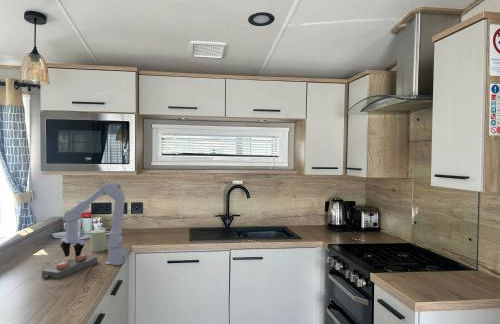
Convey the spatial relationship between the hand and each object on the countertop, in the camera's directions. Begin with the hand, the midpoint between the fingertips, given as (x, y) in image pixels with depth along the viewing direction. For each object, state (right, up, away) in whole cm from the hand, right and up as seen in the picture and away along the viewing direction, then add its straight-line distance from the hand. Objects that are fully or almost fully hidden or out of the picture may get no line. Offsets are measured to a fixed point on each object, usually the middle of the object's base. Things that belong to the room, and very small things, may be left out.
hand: (72, 256), depth 186 cm
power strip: (+3, -4, -9) cm, 11 cm away
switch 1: (+3, -1, -15) cm, 15 cm away
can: (+1, -4, +29) cm, 29 cm away
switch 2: (+6, -1, -2) cm, 6 cm away
